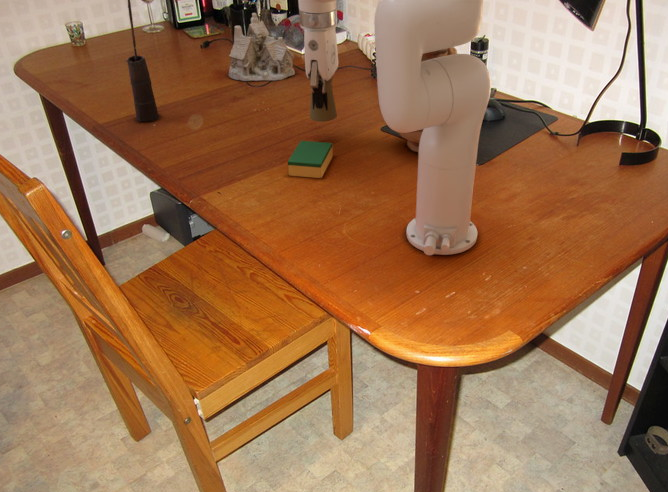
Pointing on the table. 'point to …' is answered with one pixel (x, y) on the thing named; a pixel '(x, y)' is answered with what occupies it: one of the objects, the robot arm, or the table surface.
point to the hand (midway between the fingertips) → (323, 105)
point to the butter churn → (141, 83)
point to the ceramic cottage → (259, 55)
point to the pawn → (322, 113)
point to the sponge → (310, 159)
